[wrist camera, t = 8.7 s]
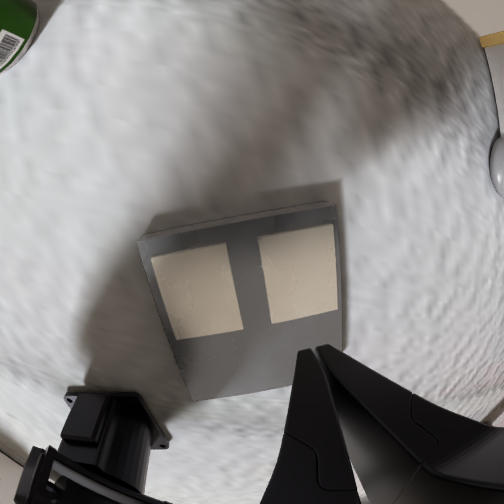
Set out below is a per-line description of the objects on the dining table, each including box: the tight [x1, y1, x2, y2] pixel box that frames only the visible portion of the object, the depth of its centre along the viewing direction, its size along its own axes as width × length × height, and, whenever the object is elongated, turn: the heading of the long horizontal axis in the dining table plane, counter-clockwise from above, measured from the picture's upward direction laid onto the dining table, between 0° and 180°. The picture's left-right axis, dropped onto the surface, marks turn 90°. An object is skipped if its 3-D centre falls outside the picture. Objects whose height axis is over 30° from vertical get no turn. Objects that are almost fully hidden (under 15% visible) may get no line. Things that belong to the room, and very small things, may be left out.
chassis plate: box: [137, 201, 342, 401], centre depth 15 cm, size 10×9×1 cm
